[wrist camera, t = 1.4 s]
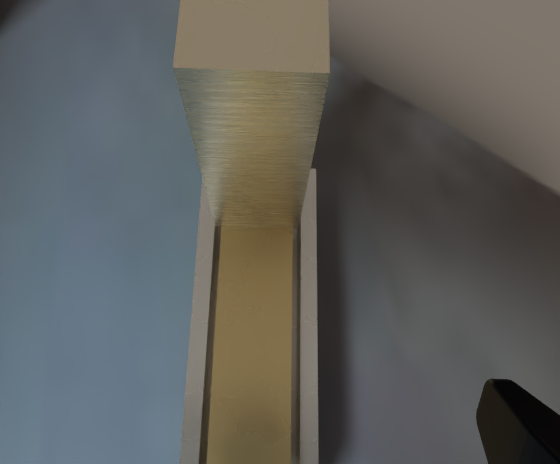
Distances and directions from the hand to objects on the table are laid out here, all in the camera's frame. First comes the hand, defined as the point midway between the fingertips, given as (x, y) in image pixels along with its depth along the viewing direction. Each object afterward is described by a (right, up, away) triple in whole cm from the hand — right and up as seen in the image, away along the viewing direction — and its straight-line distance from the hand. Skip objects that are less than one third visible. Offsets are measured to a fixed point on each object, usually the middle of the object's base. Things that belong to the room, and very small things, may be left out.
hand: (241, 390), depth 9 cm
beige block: (0, -1, +13) cm, 13 cm away
